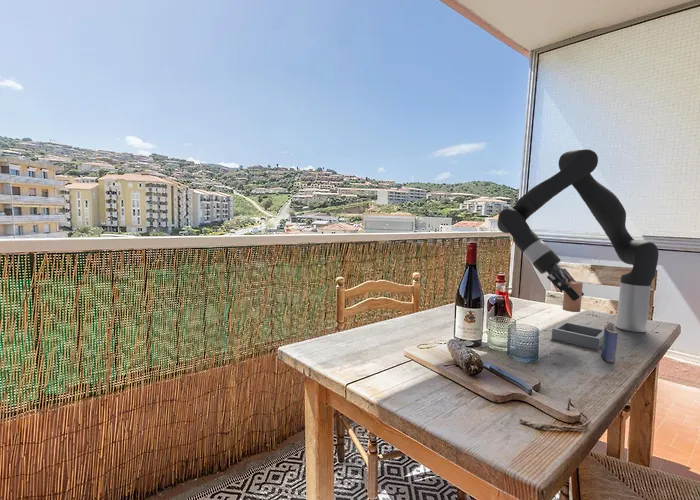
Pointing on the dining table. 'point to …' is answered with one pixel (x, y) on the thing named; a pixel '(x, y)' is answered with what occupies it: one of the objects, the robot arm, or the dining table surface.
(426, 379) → the dining table surface
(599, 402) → the dining table surface
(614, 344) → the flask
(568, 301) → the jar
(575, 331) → the tray
